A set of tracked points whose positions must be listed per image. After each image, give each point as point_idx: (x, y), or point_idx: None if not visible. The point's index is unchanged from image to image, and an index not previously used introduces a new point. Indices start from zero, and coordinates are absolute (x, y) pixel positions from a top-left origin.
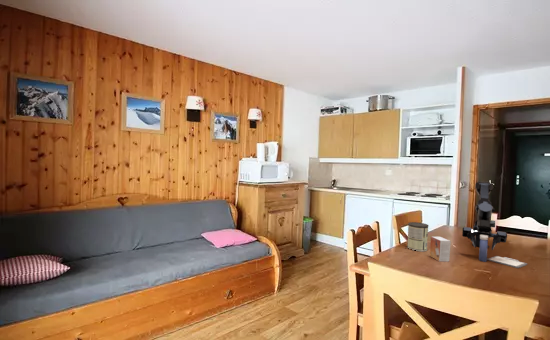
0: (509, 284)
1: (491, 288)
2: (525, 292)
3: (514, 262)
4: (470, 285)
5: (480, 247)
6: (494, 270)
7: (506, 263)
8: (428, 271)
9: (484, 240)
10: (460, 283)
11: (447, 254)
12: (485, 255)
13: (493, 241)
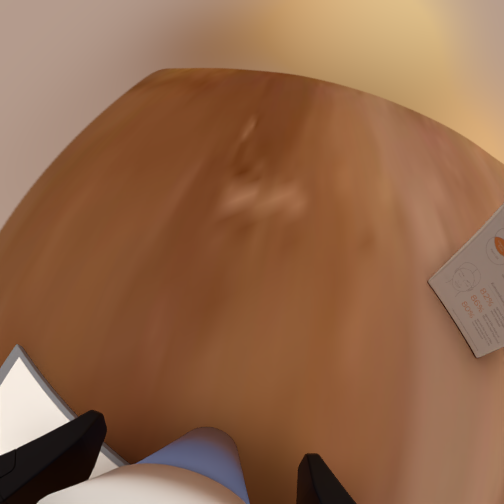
0: (196, 105)
1: (264, 77)
2: (177, 82)
3: (5, 442)
4: (315, 80)
5: (238, 465)
6: (186, 230)
7: (51, 403)
8: (427, 134)
9: (170, 466)
10: (338, 85)
11: (459, 250)
12: (184, 435)
13: (16, 476)
